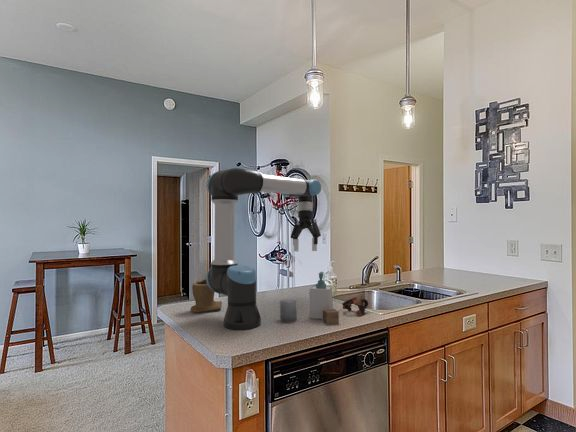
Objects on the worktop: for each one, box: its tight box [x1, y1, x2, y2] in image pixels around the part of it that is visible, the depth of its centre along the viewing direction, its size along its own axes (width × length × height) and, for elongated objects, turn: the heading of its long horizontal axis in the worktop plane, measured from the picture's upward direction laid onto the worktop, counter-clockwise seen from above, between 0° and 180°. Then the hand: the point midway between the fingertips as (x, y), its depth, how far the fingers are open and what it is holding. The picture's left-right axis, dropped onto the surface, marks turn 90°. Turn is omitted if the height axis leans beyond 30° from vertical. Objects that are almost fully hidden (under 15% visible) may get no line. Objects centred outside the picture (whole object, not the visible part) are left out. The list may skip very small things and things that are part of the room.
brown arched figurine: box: [341, 296, 369, 317], centre depth 161 cm, size 12×10×8 cm
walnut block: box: [322, 308, 340, 326], centre depth 147 cm, size 5×5×5 cm
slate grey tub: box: [279, 298, 298, 323], centre depth 152 cm, size 7×7×8 cm
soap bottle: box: [309, 271, 334, 320], centre depth 157 cm, size 9×9×19 cm
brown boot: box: [190, 278, 223, 313], centre depth 169 cm, size 15×12×15 cm
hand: (305, 251), depth 186 cm, fingers open, 13 cm apart
